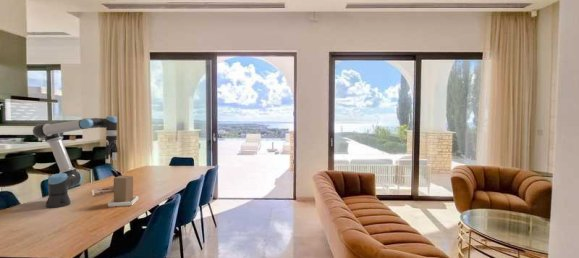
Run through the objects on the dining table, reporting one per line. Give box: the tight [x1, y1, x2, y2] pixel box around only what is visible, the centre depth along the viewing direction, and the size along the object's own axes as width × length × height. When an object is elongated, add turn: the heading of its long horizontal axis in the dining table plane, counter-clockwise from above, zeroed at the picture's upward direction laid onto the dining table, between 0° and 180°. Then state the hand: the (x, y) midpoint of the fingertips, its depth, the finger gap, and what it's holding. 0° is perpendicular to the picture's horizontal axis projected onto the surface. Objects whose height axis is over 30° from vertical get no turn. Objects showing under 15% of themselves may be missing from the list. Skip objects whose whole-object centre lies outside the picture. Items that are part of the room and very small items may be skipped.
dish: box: [107, 195, 139, 208], centre depth 242 cm, size 17×17×3 cm
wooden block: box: [113, 175, 134, 202], centre depth 242 cm, size 10×10×20 cm
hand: (110, 161), depth 246 cm, fingers open, 13 cm apart
